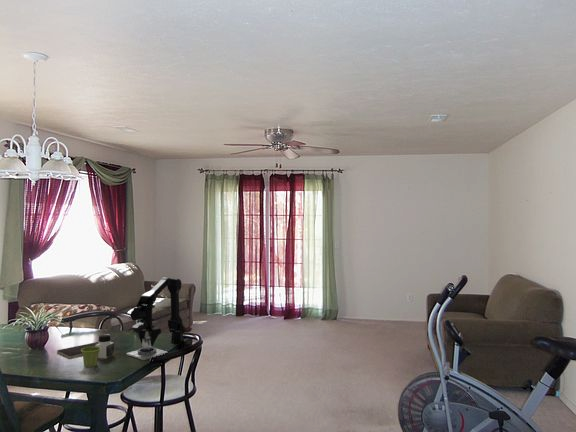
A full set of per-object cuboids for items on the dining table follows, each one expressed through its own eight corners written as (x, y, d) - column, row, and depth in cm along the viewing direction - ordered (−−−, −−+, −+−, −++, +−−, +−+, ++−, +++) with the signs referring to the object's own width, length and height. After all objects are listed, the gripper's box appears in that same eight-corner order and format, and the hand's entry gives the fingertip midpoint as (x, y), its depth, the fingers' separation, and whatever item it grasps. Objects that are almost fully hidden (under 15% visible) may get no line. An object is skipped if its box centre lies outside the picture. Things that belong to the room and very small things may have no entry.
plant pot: (97, 361, 241) (97, 345, 241) (102, 366, 233) (102, 349, 233) (78, 365, 235) (78, 348, 235) (83, 369, 228) (83, 352, 228)
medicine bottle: (106, 358, 246) (106, 336, 246) (94, 358, 247) (95, 336, 247) (114, 355, 253) (114, 333, 253) (102, 354, 254) (102, 333, 254)
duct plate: (150, 348, 266) (150, 344, 266) (167, 353, 256) (167, 349, 256) (126, 354, 253) (126, 350, 253) (143, 360, 243) (143, 355, 243)
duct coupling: (140, 352, 254) (140, 338, 254) (148, 350, 258) (148, 336, 258) (145, 354, 251) (145, 339, 251) (153, 352, 255) (153, 337, 255)
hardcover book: (109, 350, 263) (109, 346, 263) (69, 359, 246) (69, 355, 246) (96, 345, 274) (96, 341, 274) (57, 353, 256) (57, 349, 257)
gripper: (124, 317, 254) (124, 344, 254) (144, 321, 242) (144, 350, 242) (142, 313, 263) (141, 340, 262) (161, 318, 251) (161, 346, 251)
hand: (147, 344), depth 254 cm, fingers open, 9 cm apart
